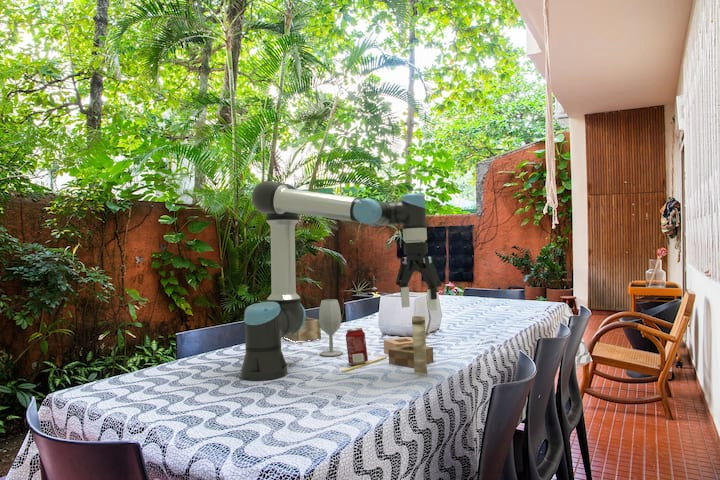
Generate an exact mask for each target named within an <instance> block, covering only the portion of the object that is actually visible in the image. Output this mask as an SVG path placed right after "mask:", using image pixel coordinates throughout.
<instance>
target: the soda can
mask: <svg viewBox="0 0 720 480" xmlns="http://www.w3.org/2000/svg"><path fill="white" fill-rule="evenodd" d="M345 342H346V349H347V351H346V352H347V361H348V364H350V365H351V366H357V365H361V364H365V363H366V362H369V360H368V358H369V357H368V351H367V350H368V349H367V341H366V333H365V332H364V330H363V328H362V327H358V328H357V327H355V328H349V329H346V334H345Z"/></svg>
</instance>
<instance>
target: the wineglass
mask: <svg viewBox="0 0 720 480" xmlns="http://www.w3.org/2000/svg"><path fill="white" fill-rule="evenodd" d="M320 301H321V302H320V305H319V310H318V320H319V323H320V326H321V331H323V332H324V333H325V334H327V336H328V340H329V341H328V343H329V344H328V345H329V347H328V348H329V349H328V350H323V351H321V352H319V355H320V356H323V357H336V356H341V355H344V351H342V350H335V349H334V341H333V338H334V334H335V333H337V331H338V330H340V328H341V324H342V313H341V307H340V303H339V301H338V299H323V300H320Z"/></svg>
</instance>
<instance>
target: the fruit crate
mask: <svg viewBox="0 0 720 480" xmlns="http://www.w3.org/2000/svg"><path fill="white" fill-rule="evenodd" d="M321 333H322V329H321V326H320V323H319V318H318V319H317V318H313V317H307V316H306V320H305V323H304V325H303V327H302V328H301V329H300V330H299V331H297V332H296V333H294V334H292V335H289V336H284V337H285V338H288V339H290V340H292V341H295V342H296V341H308V340H317V339H321V340H322V334H321ZM284 337H282V339H283V338H284ZM317 341H318V340H317Z"/></svg>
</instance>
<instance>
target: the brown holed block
mask: <svg viewBox="0 0 720 480" xmlns="http://www.w3.org/2000/svg"><path fill="white" fill-rule="evenodd" d="M388 350H389V355H388V364H389V365H392V366H393V365H395V366H400V367H406V368H412V369H414V352H413V345H410V344H407V345H403V346H399V347H396V348H392V349H388ZM426 360H427V365H428V364H431V363H433V362H434V348H433V347H432V346H426Z"/></svg>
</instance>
